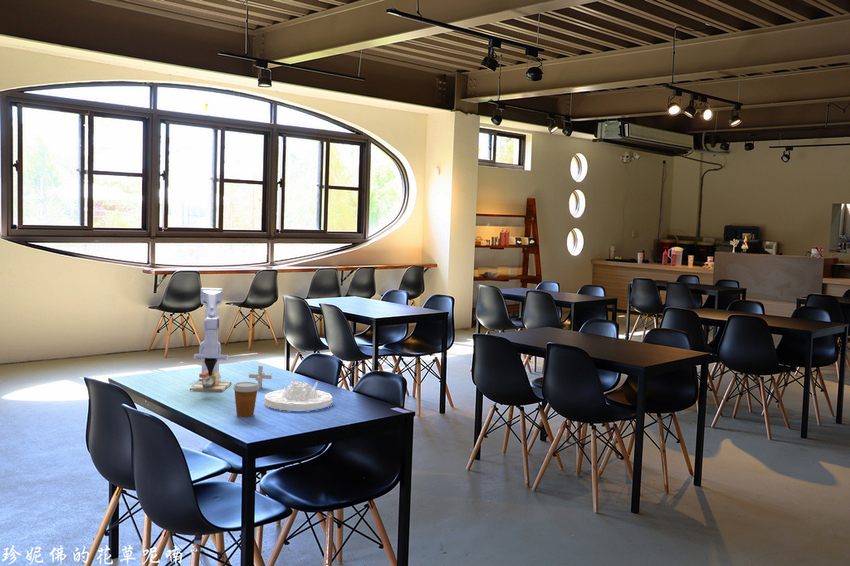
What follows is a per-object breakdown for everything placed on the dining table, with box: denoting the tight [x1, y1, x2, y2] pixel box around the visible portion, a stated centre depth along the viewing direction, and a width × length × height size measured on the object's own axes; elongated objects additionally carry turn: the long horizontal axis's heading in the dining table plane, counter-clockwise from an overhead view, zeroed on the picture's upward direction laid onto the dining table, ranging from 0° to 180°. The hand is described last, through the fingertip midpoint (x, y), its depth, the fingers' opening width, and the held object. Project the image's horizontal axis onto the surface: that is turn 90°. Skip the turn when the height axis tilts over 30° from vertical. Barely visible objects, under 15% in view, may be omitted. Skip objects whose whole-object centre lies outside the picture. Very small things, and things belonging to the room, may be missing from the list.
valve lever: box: [198, 369, 214, 379], centre depth 310 cm, size 15×3×1 cm, turn 1°
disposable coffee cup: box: [232, 381, 260, 418], centre depth 273 cm, size 10×10×12 cm
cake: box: [263, 378, 334, 411], centre depth 295 cm, size 28×28×10 cm
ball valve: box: [202, 371, 221, 388], centre depth 317 cm, size 16×6×7 cm, turn 1°
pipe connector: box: [248, 364, 273, 389], centre depth 321 cm, size 10×10×10 cm
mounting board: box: [189, 380, 232, 393], centre depth 317 cm, size 16×14×1 cm
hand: (210, 375), depth 309 cm, fingers closed
